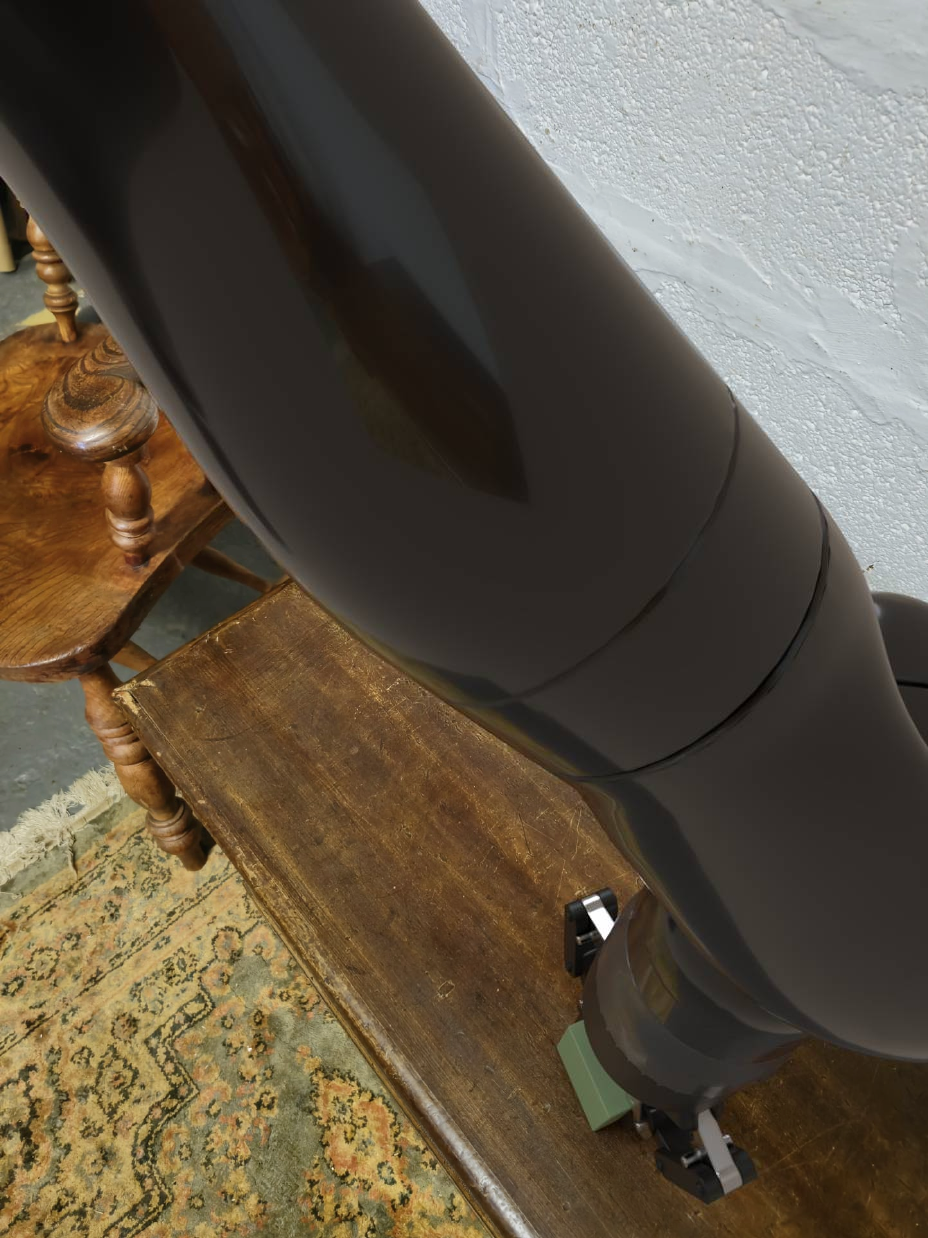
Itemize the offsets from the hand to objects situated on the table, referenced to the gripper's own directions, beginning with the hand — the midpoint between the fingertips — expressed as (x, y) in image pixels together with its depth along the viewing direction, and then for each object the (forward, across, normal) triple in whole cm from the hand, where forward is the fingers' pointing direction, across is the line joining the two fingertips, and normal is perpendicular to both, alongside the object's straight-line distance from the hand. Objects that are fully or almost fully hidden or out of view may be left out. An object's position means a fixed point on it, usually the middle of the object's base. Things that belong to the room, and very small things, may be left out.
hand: (615, 1068), depth 47 cm
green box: (0, 0, 0) cm, 0 cm away
